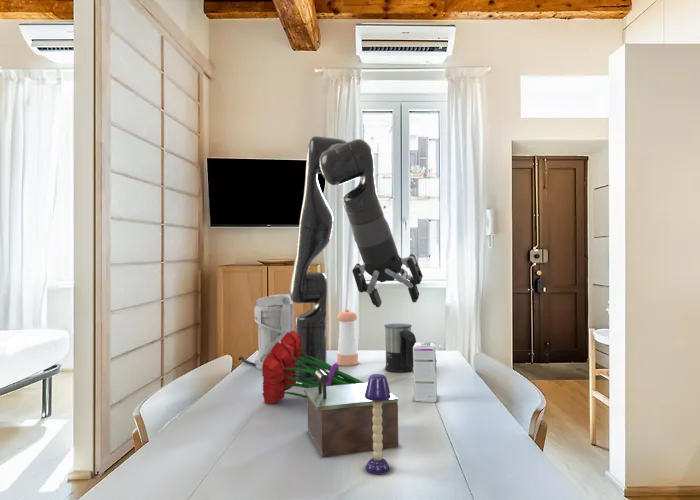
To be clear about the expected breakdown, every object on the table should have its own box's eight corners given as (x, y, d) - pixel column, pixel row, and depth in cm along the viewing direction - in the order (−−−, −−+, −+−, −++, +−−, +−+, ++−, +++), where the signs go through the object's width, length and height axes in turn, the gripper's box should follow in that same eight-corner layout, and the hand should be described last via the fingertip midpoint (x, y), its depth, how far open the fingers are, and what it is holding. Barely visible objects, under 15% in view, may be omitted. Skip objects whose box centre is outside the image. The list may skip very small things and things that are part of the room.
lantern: (251, 369, 165) (250, 295, 165) (260, 362, 175) (259, 293, 176) (288, 370, 163) (287, 295, 164) (295, 363, 174) (294, 293, 174)
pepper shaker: (339, 361, 177) (338, 308, 177) (359, 361, 176) (358, 308, 176) (335, 365, 169) (335, 310, 170) (356, 366, 168) (355, 310, 169)
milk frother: (379, 369, 163) (378, 324, 163) (409, 361, 174) (409, 320, 174) (411, 376, 153) (410, 329, 153) (442, 368, 163) (441, 324, 163)
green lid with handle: (317, 410, 92) (317, 381, 92) (303, 391, 105) (303, 366, 106) (397, 402, 97) (397, 374, 97) (375, 385, 110) (374, 360, 110)
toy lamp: (364, 463, 89) (363, 372, 90) (389, 462, 90) (388, 371, 90) (367, 475, 85) (366, 379, 85) (393, 474, 85) (392, 378, 85)
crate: (322, 457, 93) (321, 410, 93) (307, 432, 106) (307, 391, 106) (398, 447, 97) (397, 402, 97) (375, 424, 110) (375, 385, 110)
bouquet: (368, 444, 114) (249, 411, 119) (376, 420, 131) (271, 392, 136) (385, 362, 114) (265, 333, 119) (391, 349, 130) (285, 323, 135)
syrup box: (436, 402, 126) (435, 346, 126) (413, 401, 127) (412, 345, 127) (437, 396, 131) (436, 342, 132) (415, 395, 133) (414, 341, 133)
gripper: (409, 223, 101) (431, 289, 106) (348, 235, 107) (372, 297, 112) (401, 239, 94) (424, 308, 100) (337, 251, 100) (362, 316, 106)
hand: (396, 302), depth 106 cm, fingers open, 8 cm apart
